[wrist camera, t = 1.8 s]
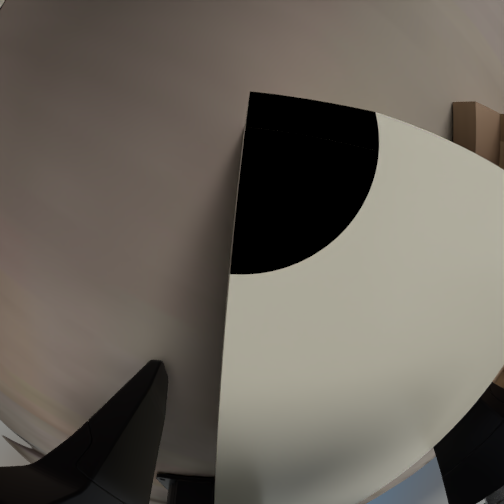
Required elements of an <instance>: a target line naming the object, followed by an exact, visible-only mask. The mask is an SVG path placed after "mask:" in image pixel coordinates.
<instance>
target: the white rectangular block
mask: <svg viewBox="0 0 504 504" xmlns="http://www.w3.org/2000/svg"><path fill="white" fill-rule="evenodd" d="M245 127H246V128H255V129H263V130H271V131H278V132H285V133H291V134H297V135H303V136H309V137H314V138H320V139H325V140H330V141H334V142H339V143H343V144H348V145H352V146H356V147H360V148H364V149H368V150H372V151H376V152H379V155H378V163H377V168H376V173H375V176H374V180H373V183H372V186H371V188H370V191H369V193H368V196H367V198H366V200H365V202H364V204H363V205H362V207H361V209H360V210H359V212H358V213H357V215H356V216H355V218H354V219H353V221H352V222H351V223H350V224H349V225H348V227H347V228H346V229H345V230H344V231H343V232H342V233H341V234H340V235H339V236H338V237H337V238H336V239H335V240H334V241H332V242H331V243H330V244H329V245H328V246H326V247H325V248H323V249H322V250H321V251H319V252H318V253H316V254H314V255H313V256H311V257H309V258H307V259H305V260H303V261H301V262H299V263H297V264H294V265H291V266H289V267H286V268H283V269H279V270H275V271H271V272H266V273H259V274H244V275H239V274H230V268H231V257H232V246H233V236H234V226H235V216H236V206H237V197H238V188H239V179H240V170H241V161H242V152H243V144H244V135H245ZM503 365H504V170H503V169H502V168H500V167H498V166H497V165H495V164H493V163H491V162H490V161H488V160H486V159H484V158H483V157H481V156H479V155H477V154H475V153H473V152H471V151H469V150H468V149H466V148H464V147H462V146H460V145H457V144H455V143H453V142H451V141H449V140H447V139H445V138H442V137H440V136H438V135H436V134H433V133H431V132H429V131H426V130H424V129H421V128H419V127H416V126H414V125H411V124H408V123H406V122H403V121H400V120H398V119H395V118H392V117H389V116H386V115H383V114H380V113H377V112H373V111H368V110H363V109H359V108H354V107H349V106H344V105H339V104H333V103H328V102H322V101H316V100H310V99H304V98H297V97H290V96H283V95H276V94H268V93H260V92H251V91H250V95H249V101H248V107H247V113H246V119H245V126H244V133H243V142H242V150H241V159H240V168H239V177H238V186H237V195H236V205H235V214H234V224H233V234H232V244H231V255H230V265H229V276H228V288H227V299H226V311H225V324H224V336H223V350H222V363H221V378H220V393H219V409H218V426H217V446H216V468H215V495H214V504H357V503H359V502H361V501H362V500H364V499H365V498H367V497H369V496H370V495H372V494H373V493H375V492H376V491H378V490H379V489H381V488H382V487H384V486H385V485H387V484H388V483H389V482H391V481H392V480H394V479H395V478H396V477H398V476H399V475H400V474H402V473H403V472H404V471H406V470H407V469H408V468H409V467H411V466H412V465H413V464H414V463H416V462H417V461H418V460H419V459H420V458H421V457H423V456H424V455H425V454H426V453H427V452H428V451H429V450H431V449H432V448H433V447H434V446H435V445H436V444H437V443H438V442H439V441H440V440H441V439H442V438H443V437H444V436H445V435H446V434H447V433H448V432H449V431H450V430H451V429H452V428H453V427H454V426H455V425H456V424H457V423H458V422H459V421H460V420H461V419H462V418H463V417H464V415H465V414H466V413H467V412H468V411H469V410H470V409H471V407H472V406H473V405H474V404H475V403H476V402H477V400H478V399H479V398H480V397H481V395H482V394H483V393H484V392H485V390H486V389H487V388H488V386H489V385H490V384H491V382H492V381H493V380H494V378H495V377H496V375H497V374H498V373H499V371H500V370H501V368H502V367H503Z"/></svg>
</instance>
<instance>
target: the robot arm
mask: <svg viewBox="0 0 504 504" xmlns="http://www.w3.org/2000/svg"><path fill="white" fill-rule="evenodd" d="M167 389H168V376H167V372H166V369H165V366H164V363H163V362H162V361H161V360H151V361H149V362H148V363H147V364H146V365H145V366H144V367H143V368H142V369H141V370H140V371H139V372H138V373H137V374H136V375H135V376H134V377H133V378H132V379H131V380H129V381H128V382H127V383H126V384H125V385H124V386H123V387H122V388H121V389H120V390H119V391H118V392H117V393H116V394H115V395H114V396H113V397H112V398H111V399H110V400H109V401H108V402H107V403H106V404H105V405H104V406H103V407H102V408H100V409H99V410H98V411H97V412H96V413H95V414H94V415H93V416H92V417H91V418H90V419H89V422H88V421H87V422H86V423H85V424H84V425H83V426H82V427H81V428H79V429H78V430H77V431H76V432H75V433H74V434H73V435H72V436H70V437H69V438H68V439H67V440H65V441H64V442H63V443H62V444H60V445H59V446H58V447H56V448H55V449H53V450H52V451H51V452H49V453H48V454H47V455H45V456H44V457H42V458H41V459H40V460H38V461H36V462H34V463H32V464H29V465H25V466H10V467H0V504H149V501H150V494H151V488H152V483H153V477H154V471H155V466H156V460H157V455H158V450H159V445H160V440H161V435H162V430H163V425H164V420H165V411H166V399H167ZM433 448H434V451H435V454H436V457H437V461H438V464H439V468H440V471H441V475H442V479H443V482H444V486H445V490H446V495H447V498H448V503H449V504H476V503H478V502H480V501H481V500H483V499H485V503H484V504H504V388H502V387H500V386H498V385H497V384H495V383H493V382H491V384H490V385H489V386H488V388H487V389H486V390H485V392H484V393H483V394H482V395H481V397H480V398H479V399H478V400H477V402H476V403H475V404H474V405H473V406H472V407H471V409H470V410H469V411H468V412H467V413H466V414H465V415H464V417H463V418H462V419H461V420H460V421H459V422H458V423H457V424H456V425H455V426H454V427H453V428H452V429H451V430H450V431H449V432H448V433H447V434H446V435H445V436H444V437H443V438H442V439H441V440H440V441H439V442H438V443H437V444H436V445H435V446H434V447H433ZM156 479H157V480H158V481H159V482H160V483H161V484H162V485H163V486H164V487H165V488H166V489H167V490H168V496H167V504H214V495H215V479H211V478H196V477H185V476H176V475H168V474H160V473H157V476H156Z"/></svg>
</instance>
